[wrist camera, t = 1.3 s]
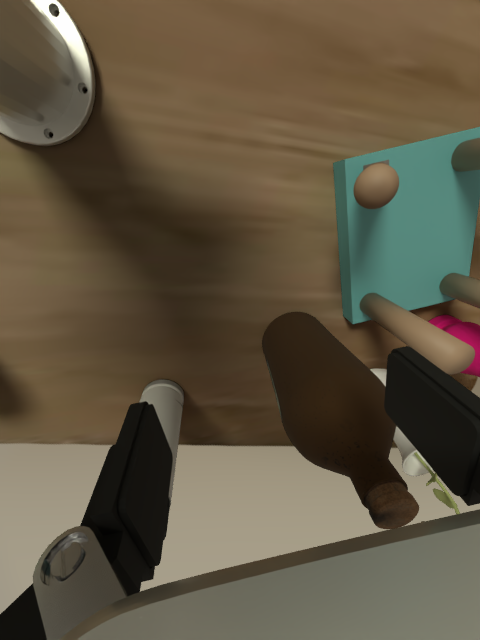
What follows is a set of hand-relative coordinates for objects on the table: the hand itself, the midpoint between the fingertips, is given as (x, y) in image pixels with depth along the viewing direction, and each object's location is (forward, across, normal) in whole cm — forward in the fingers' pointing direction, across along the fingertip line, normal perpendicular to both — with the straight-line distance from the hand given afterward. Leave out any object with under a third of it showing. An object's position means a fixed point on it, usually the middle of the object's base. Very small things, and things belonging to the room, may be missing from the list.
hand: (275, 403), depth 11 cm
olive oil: (+27, -7, +14) cm, 31 cm away
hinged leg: (+23, -17, -6) cm, 30 cm away
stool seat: (+27, -23, +1) cm, 35 cm away
